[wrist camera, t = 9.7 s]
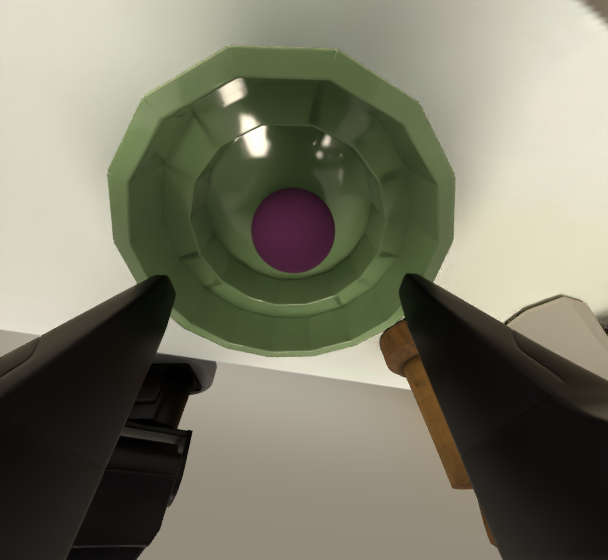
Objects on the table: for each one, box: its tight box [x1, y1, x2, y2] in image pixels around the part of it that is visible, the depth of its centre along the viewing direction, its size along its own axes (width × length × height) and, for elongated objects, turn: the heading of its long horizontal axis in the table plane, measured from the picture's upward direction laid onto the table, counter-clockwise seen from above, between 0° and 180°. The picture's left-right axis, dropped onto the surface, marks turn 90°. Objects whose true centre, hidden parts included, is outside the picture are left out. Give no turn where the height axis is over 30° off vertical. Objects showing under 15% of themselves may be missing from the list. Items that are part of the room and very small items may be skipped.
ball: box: [251, 188, 335, 273], centre depth 12 cm, size 4×4×4 cm
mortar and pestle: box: [380, 320, 497, 547], centre depth 16 cm, size 7×6×18 cm
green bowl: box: [107, 45, 455, 357], centre depth 12 cm, size 13×13×6 cm
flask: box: [507, 297, 608, 380], centre depth 18 cm, size 7×7×10 cm
